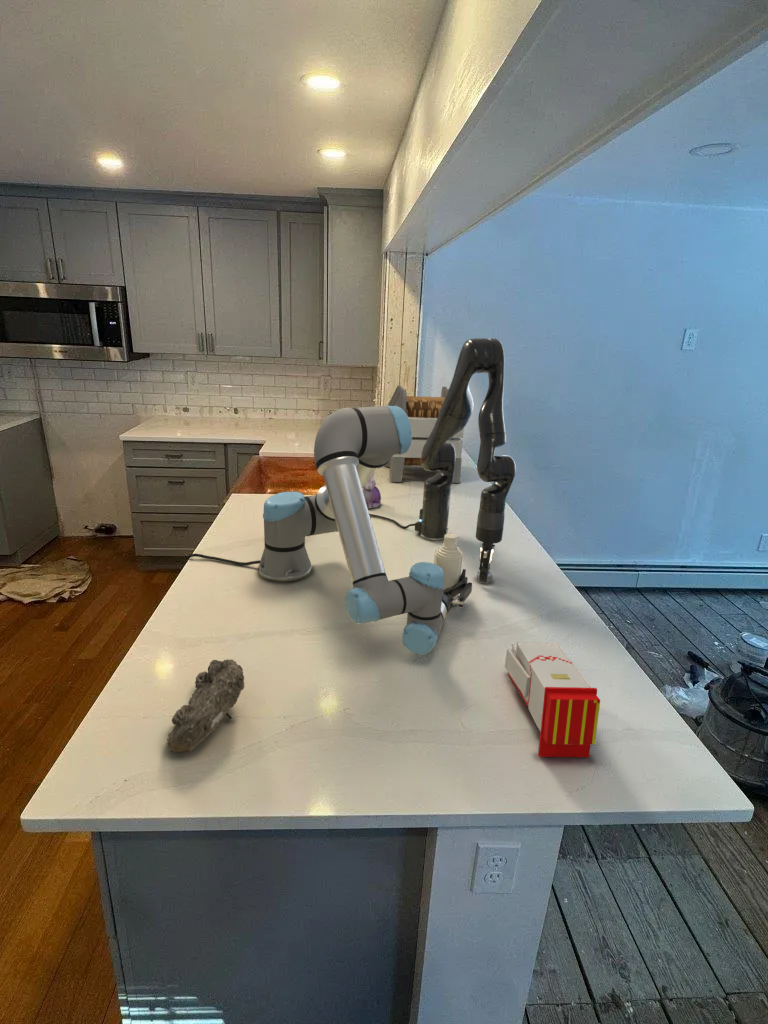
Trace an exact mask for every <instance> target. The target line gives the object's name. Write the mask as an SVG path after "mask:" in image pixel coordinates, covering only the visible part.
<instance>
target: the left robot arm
mask: <svg viewBox="0 0 768 1024" xmlns="http://www.w3.org/2000/svg"><path fill="white" fill-rule="evenodd" d="M411 440H412V432H411V425H410V421H409V418H408V416H407V414H406V413H405V411H404V410H403V409H402V408H400V407H398V406H388V404H386V405H379V406H378V405H377V406H361V407H343V408H339V409H336V410H335V411H333V412H331V413H330V414H329V415H327V417H325V419H324V420H322V423H321V424H320V426H319V428H318V430H317V433H316V435H315V439H314V447H313V458H314V463H315V468H316V472H317V473H318V474H319V475H320V476H322V477H323V479H324V483H325V484H324V485H323V486H321V487H320V488H319V489H318V491H317V493H316V494H314V495H306V496H305V495H304V494H303V493H302V492H299V491H294V490H293V491H290V490H289V491H282V492H277V493H275V494H273V495H271V496H269V497H268V498H266V500H264V503H263V513H262V519H263V539H264V541H263V542H264V548H263V551H262V554H261V557H260V559H259V560H252V561H246V562H245V561H243V562H242V561H236V560H233V559H226V558H222V557H217V556H211V555H207V554H206V555H205V554H202V553H191V554H188V555H187V556H186V557H185V558H184V560H189V559H191V558H195V557H198V558H203V559H205V560H206V559H207V560H212V561H213V560H214V561H219V562H223V563H228V564H231V565H238V566H251V565H257V564H258V573H259V575H260V577H262V578H263V579H265V580H267V581H271V582H276V583H291V582H296V581H300V580H303V579H305V578H307V577H308V576H309V575H310V574H311V572H312V562H311V560H310V557H309V554H308V551H307V548H306V537H310V536H316V535H322V534H330V533H338V535H339V538H340V539H339V540H340V542H341V546H342V550H343V553H344V557H345V561H346V565H347V568H348V572H349V575H350V580H351V582H352V583H351V584H352V588H351V589H348V591H347V592H346V594H345V608H346V612H347V614H348V616H349V618H350V620H351V621H352V622H354V623H355V624H358V625H359V624H360V625H361V624H366V623H373V622H378V621H380V620H385V619H388V618H391V617H396V616H398V615H399V616H400V615H403V614H404V615H405V614H407V616H406V624H405V626H404V627H403V632H402V635H401V640H402V644H403V646H404V647H405V649H406V650H407V651H409V652H410V653H412V654H415V655H419V656H421V655H426V654H428V653H430V652H431V651H432V650H433V649H434V648H435V646H436V644H437V643H438V638H439V636H440V633H441V630H442V628H443V625H444V623H445V620H446V618H447V615H448V614H449V610H450V608H451V607H453V606H454V605H453V604H455V605H458V607H459V608H464V607H465V602H466V601H467V599H468V597H469V596H470V595H471V594H472V590H473V582H468V579H469V577H468V576H466V572H467V569H464V568H462V570H461V575H460V578H459V583H457V584H455V585H454V586H452V587H450V588H449V587H448V588H446V589H445V590H443V589H444V572H443V570H442V568H441V567H439V566H438V565H436V564H434V562H428V561H422V562H421V561H420V562H416V563H414V564H412V565H411V567H410V569H409V572H408V576H405V577H400V578H396V579H391V580H389V579H388V576H387V573H386V569H385V566H384V561H383V559H382V556H381V552H380V548H379V544H378V541H377V537H376V533H375V530H374V527H373V522H372V520H371V516H370V515H369V514H370V513H369V509H368V508H367V505H366V501H365V498H364V494H363V487H364V486H365V484H366V483H367V481H368V480H369V478H370V477H371V475H372V474H373V473H374V474H375V472H376V470H377V469H381V468H383V467H386V466H385V465H386V464H387V463H388V461H389V460H390V459H391V457H392V456H393V455H395V454H399V455H401V454H403V453H406V452H407V451H408V450H409V448H410V446H411ZM374 471H375V472H374ZM456 595H458V596H457V597H456V598H455V599H454V598H453V597H455V596H456ZM452 605H453V606H452Z"/></svg>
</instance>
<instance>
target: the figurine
mask: <svg viewBox="0 0 768 1024" xmlns="http://www.w3.org/2000/svg"><path fill="white" fill-rule="evenodd" d="M375 472H376V470H375V471H374V473H373V474H372V475H371V477H370V478H369V480H368V481H367V483H366V484H365V486H364V487H363V489H362V490H363V494H364V498H365V501H366V505H367V508H368V510H369V509H375V508H378V507H379V506H380V505H381V500H382V495H381V491H380V489H379V488H378V487H377V486H376V485H377V483H376V480H375V478H374V476H375Z"/></svg>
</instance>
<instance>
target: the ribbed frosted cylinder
mask: <svg viewBox="0 0 768 1024" xmlns="http://www.w3.org/2000/svg"><path fill="white" fill-rule="evenodd" d="M457 539H458V537H457V535H456V534H454V533H447V534H445V536H444V540H443V543H442V544H441V545H440V546H438V548H436V549H435V551H434V554H433V564H436V565H438V566H439V567H441V568H442V570H443V572H444V589H443V590H445V589H446V588H448V587H449V588H450V587H452V586H454V585H455V584H457V583H459V578H460V576H461V573H462V568H463V567H462V566H463V557H464V556H463V552H462V550H461V549H460V548H459V547H458V546H457ZM458 595H459V594H458ZM458 595H456V596H455V597H453V598H454V599H455V598H456V597H457V596H458ZM455 605H456V604H453V605H452V606H451V607H453V606H455Z"/></svg>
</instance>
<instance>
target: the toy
mask: <svg viewBox="0 0 768 1024" xmlns="http://www.w3.org/2000/svg"><path fill="white" fill-rule="evenodd" d="M504 668H505V670H506V671H507V675H508V676H509V678H510V680H511V682H512V683H513V685H514V687H515V688H516V690H517V691H518V693H519V695H520V697H521V698H522V700H523V702H524V703H525V705H526V707H527V708H528V711H529V713H530V715H531V717H532V719H533V721H534V723H535V725H536V727H537V729H538V731H539V743H538V753H537V755H538V757H539V758H590V753H591V746H593V745H595V744H596V738H597V729H598V722H599V713H600V706H601V699H600V698H599V696H598V688H597V687H591V686H590V684H589V683H588V682H587V680H586V679H585V678H584V676H583V675H582V674H581V672H580V671H579V669H578V668H577V667H576V666H575V664H574V663H573V661H572V660H571V659H570V658H569V657H568V655H567V654H566V653H565V651H564V649H563V648H562V647H561V646H560V645H559V643H556V642H555V643H554V642H516V643H511V648H507V649H506V654H505V662H504Z"/></svg>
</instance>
